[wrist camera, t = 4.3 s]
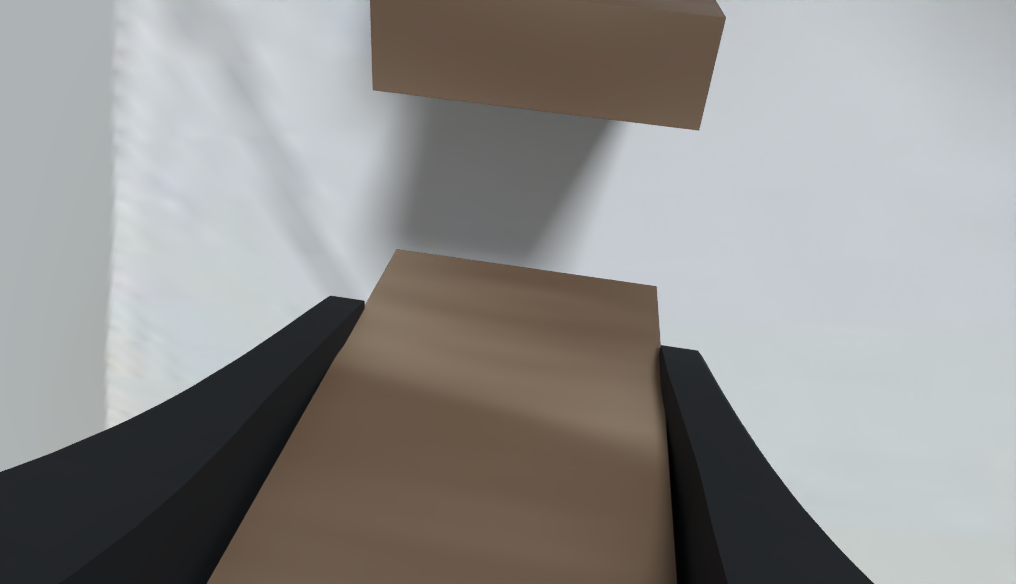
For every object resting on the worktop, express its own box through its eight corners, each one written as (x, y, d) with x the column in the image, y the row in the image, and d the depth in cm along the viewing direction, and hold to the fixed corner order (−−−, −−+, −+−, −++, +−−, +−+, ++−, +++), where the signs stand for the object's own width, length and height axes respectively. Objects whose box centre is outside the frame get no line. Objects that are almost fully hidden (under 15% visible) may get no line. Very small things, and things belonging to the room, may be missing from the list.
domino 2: (640, 352, 14) (654, 823, 7) (397, 316, 14) (196, 731, 8) (656, 286, 13) (689, 752, 6) (396, 249, 13) (167, 650, 7)
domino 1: (670, 19, 17) (698, 130, 10) (470, -3, 17) (372, 90, 11) (684, -52, 16) (726, 17, 9) (473, -75, 16) (369, -22, 10)
